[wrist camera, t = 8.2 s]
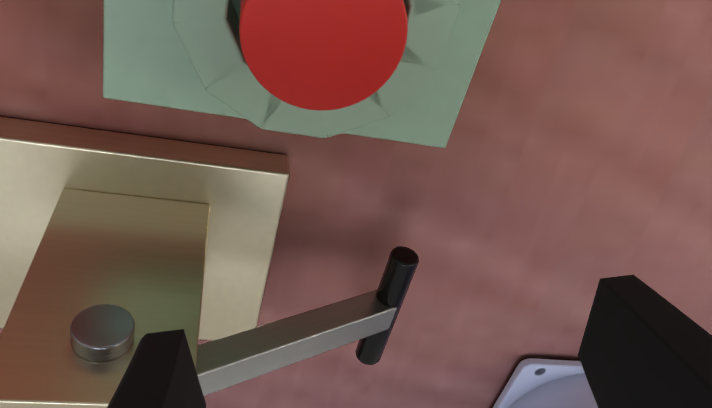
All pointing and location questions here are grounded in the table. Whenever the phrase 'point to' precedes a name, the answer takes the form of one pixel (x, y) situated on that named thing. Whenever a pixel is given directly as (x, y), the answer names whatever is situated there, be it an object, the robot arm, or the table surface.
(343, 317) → the power lever
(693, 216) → the table surface
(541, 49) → the table surface
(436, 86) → the stop box
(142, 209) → the switch bracket
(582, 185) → the table surface
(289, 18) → the stop button
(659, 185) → the table surface
